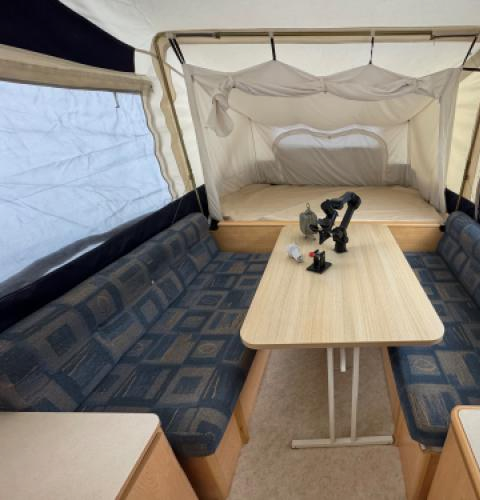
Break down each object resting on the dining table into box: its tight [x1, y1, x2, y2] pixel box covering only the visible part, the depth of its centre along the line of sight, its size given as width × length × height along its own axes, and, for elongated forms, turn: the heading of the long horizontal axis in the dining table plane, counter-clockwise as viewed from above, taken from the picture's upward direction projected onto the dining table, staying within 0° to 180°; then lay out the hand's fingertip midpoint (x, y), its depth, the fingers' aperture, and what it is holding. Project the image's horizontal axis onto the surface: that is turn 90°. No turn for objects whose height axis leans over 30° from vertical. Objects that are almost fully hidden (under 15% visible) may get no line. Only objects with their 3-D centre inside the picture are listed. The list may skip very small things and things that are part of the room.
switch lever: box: [308, 251, 322, 259], centre depth 141 cm, size 11×3×3 cm, turn 152°
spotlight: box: [285, 242, 305, 263], centre depth 155 cm, size 8×11×8 cm
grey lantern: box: [298, 202, 319, 241], centre depth 181 cm, size 14×9×25 cm, turn 22°
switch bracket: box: [306, 248, 333, 275], centre depth 145 cm, size 12×9×10 cm
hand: (319, 244), depth 142 cm, fingers closed
